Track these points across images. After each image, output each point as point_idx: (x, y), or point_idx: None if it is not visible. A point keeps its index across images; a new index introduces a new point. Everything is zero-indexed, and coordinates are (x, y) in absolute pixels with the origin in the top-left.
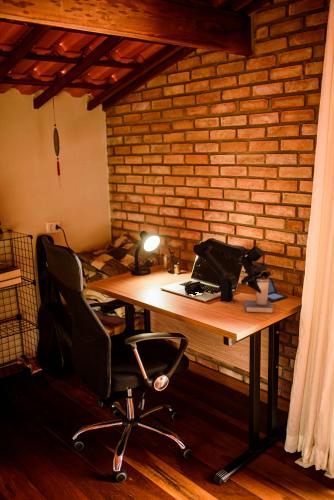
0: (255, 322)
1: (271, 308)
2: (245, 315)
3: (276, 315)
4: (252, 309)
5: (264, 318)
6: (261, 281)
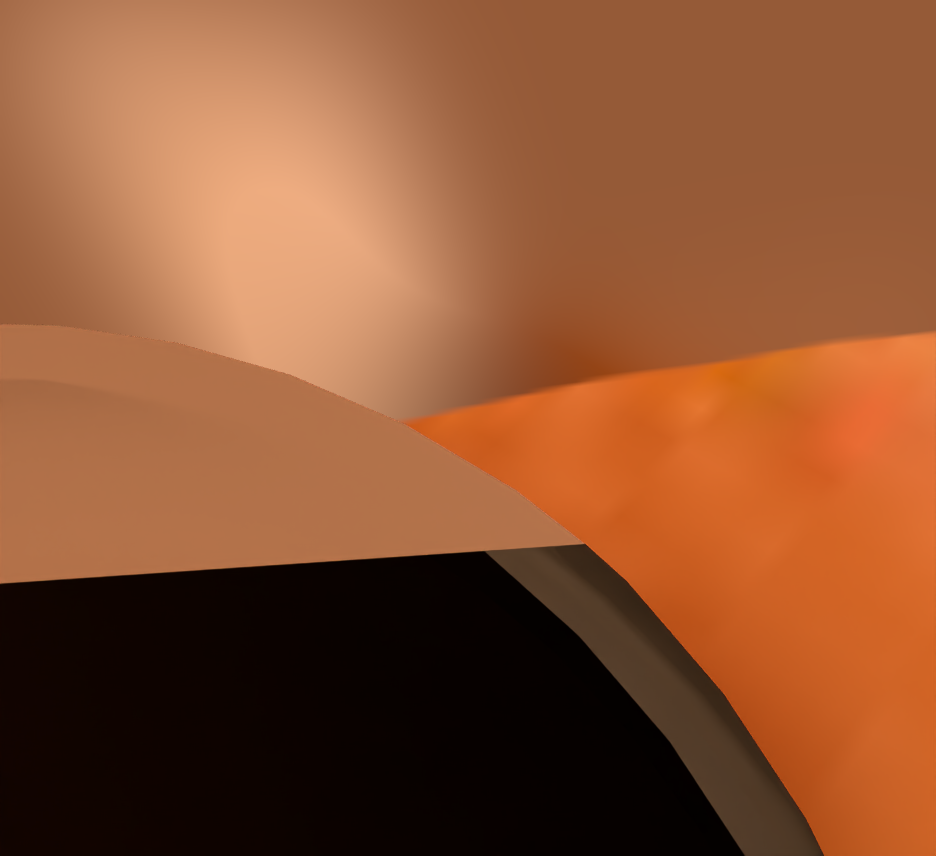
0: (926, 386)
1: None
2: (914, 747)
3: None
4: None
5: (670, 433)
6: (820, 853)
